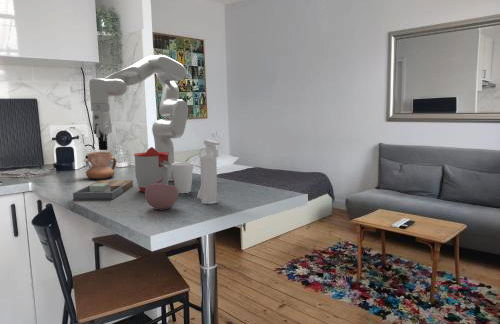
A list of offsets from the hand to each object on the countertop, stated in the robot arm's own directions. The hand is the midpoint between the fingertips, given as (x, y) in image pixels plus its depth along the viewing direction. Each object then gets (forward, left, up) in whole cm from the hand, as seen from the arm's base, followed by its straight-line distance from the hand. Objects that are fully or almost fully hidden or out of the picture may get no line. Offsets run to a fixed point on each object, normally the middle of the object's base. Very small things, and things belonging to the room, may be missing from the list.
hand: (103, 149), depth 166 cm
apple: (-32, +29, -20) cm, 47 cm away
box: (0, +7, -19) cm, 20 cm away
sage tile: (0, +6, -17) cm, 17 cm away
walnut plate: (0, -7, -19) cm, 21 cm away
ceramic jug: (+16, -37, -20) cm, 45 cm away
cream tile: (0, +4, -19) cm, 19 cm away
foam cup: (-35, +1, -20) cm, 40 cm away
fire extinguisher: (-48, +19, -20) cm, 55 cm away
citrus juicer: (-21, -4, -20) cm, 29 cm away
